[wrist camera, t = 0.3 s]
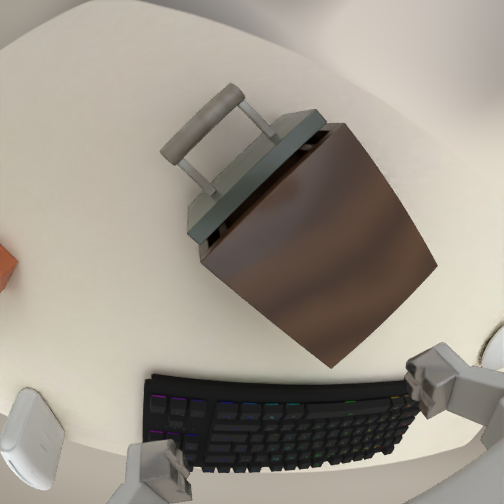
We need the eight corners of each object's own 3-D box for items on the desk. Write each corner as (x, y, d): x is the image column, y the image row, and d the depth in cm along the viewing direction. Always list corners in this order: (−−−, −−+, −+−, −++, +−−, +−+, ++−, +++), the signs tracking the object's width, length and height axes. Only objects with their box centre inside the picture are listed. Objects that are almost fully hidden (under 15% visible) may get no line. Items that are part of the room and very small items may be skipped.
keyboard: (423, 374, 44) (439, 392, 40) (380, 438, 49) (391, 456, 45) (146, 367, 34) (142, 397, 29) (143, 444, 39) (141, 470, 34)
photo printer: (69, 434, 36) (55, 499, 25) (47, 432, 36) (31, 494, 24) (39, 387, 32) (12, 457, 21) (16, 386, 32) (-13, 451, 20)
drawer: (146, 168, 26) (128, 181, 18) (243, 73, 24) (263, 51, 17) (287, 297, 33) (313, 342, 25) (369, 219, 31) (414, 245, 24)
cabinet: (196, 221, 29) (200, 262, 20) (297, 124, 27) (344, 122, 18) (297, 312, 35) (331, 369, 26) (381, 231, 33) (438, 265, 24)
